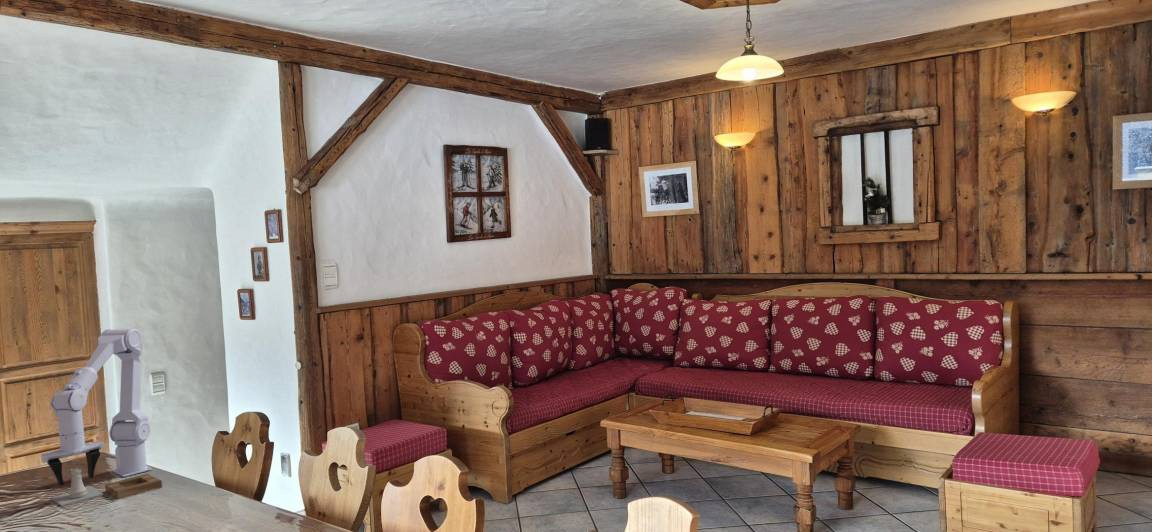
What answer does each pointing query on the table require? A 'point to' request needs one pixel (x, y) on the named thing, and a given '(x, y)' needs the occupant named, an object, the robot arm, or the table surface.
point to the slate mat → (65, 500)
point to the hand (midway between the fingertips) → (76, 481)
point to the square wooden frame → (133, 486)
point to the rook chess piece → (76, 484)
